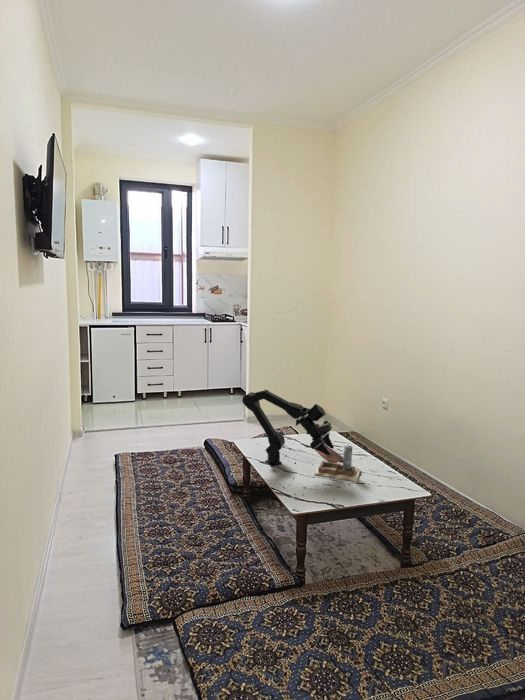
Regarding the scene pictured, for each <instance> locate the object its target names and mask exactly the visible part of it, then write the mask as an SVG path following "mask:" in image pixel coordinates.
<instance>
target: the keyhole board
mask: <svg viewBox="0 0 525 700" xmlns="http://www.w3.org/2000/svg"><path fill="white" fill-rule="evenodd" d="M361 469H362V468H361ZM361 469H360V468H356V466H352V465H351V471H347V470H343V464H342V463H332V462H328V461H327V460H325V461H324V460H322V461H321V462H320V463H319V465H318V467H317V468H316V470H315V472H314V475H315V476H318V475H320V477H325V476H326V478H332V479H338V480H344V481H351V482H354V483H355V482H356V483H357V482H358V479H359V476H360V474H361Z"/></svg>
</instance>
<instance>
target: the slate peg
mask: <svg viewBox="0 0 525 700" xmlns="http://www.w3.org/2000/svg"><path fill="white" fill-rule="evenodd" d="M342 457H343V462H342V465H343V470H347V471H351V466H352V460H353V446H352V445H350V444H349V445H348V444H347V445H343V456H342Z"/></svg>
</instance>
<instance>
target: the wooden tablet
mask: <svg viewBox="0 0 525 700" xmlns="http://www.w3.org/2000/svg"><path fill="white" fill-rule="evenodd" d="M324 445H325V446H326V448H327V449H328V451H329V452H330V455H327V454H325V453H322V452H320V451H318V450H315V451H316V452H317V453H318V454H319V455H321V457H323V458H324V459H325V461H326V462H332V463H336V462H340V463H339V464H342V463H343V456H342V455H341V454H340V453H338V452H337V451H336V450H334V449H332V448H330V447H328V446H327V445H326V444H324ZM341 462H342V463H341Z"/></svg>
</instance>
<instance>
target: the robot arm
mask: <svg viewBox="0 0 525 700" xmlns="http://www.w3.org/2000/svg"><path fill="white" fill-rule="evenodd" d="M262 400H265V401H267V402H268V403H271V404H273V405H274V406H277V407H278V408H280V409H282V410H284V411H285V412H286V413H287V414H288V415H289V416H290V417H292V418H293V419H295V426H298V425H301V427H302V428H303V429H304V430H305V432H306V435H309V436H310V437H311V438H312V439H311V441H310V442H311V443H310V449H312V450H315V451H316V450H318V451H320V452H322V453H325V454H327V455H330V452H329V451H328V449H327V448H326V446H328V447H329V448H331V449H332V450H334V448H335V447H334V445H333V442H332V440H331V439H330V432H331V431H332V429H333V427H332V423H331V421H328V420H323V423H322V424H319V423H315V422H318V421H319V420H320V419H321V418H323V417H324V416H326V410H325V409H324V408H323V407H322V406H321V405H319V404H317V403H314V405H313V406H312V407H311V408H307V407H304V406H303V405H302V404H299V403H296V402H292V401H288V400H287V399H284V398H282V397H280V396H278V395H276V394H274V393H272V392H271V391H269V390H268V389H263V390H261V391H256V392H253V391H252V392H248V393H247V394H245V395H244V396H243V397H242V404H243V405H244V406H245V407H246V408H247V410H249V411H251V412H252V413H253V415H254V417H255V418H256V420H257V421H258V423H259V424H260V426H261V427H262V429H263V431H264V432H265V434H266V435H267V436H266V437H267V440H268V443H269V445H268V447H266V448H265V452H266V454H267V460H264V462H265V463H266V464H268V465H270V466H273V467H274V466H276V465H281V464H283V461H281V460H280V459H281V456H280V455H281V453H280V450H281V449H282V448H283V447H284V446H285V444H286V440H285V437H284V435H283V434H282V433H283V432H282V431H279V432H278V431H276V430H275V428H274V427H273V425H272V424H271V421H270V420H269V418H268V416H267V415H266V413H265V411H263V409H262V407H261V403H260V401H262ZM324 444H325V445H326V446H325V445H324Z"/></svg>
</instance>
